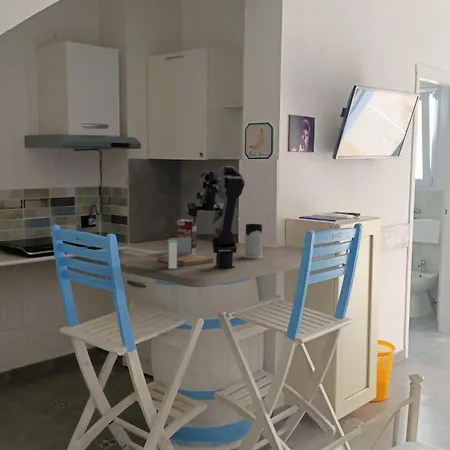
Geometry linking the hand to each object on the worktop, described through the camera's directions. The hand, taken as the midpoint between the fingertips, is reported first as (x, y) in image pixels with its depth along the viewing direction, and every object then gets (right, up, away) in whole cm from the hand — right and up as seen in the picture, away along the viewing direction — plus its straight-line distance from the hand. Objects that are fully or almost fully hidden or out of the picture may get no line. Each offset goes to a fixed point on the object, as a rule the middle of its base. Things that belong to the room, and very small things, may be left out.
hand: (203, 223), depth 273 cm
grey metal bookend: (-11, -14, -10) cm, 21 cm away
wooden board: (-7, -17, -14) cm, 23 cm away
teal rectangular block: (-12, -18, -29) cm, 37 cm away
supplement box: (-8, -14, +9) cm, 19 cm away
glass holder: (+22, -15, +5) cm, 27 cm away
